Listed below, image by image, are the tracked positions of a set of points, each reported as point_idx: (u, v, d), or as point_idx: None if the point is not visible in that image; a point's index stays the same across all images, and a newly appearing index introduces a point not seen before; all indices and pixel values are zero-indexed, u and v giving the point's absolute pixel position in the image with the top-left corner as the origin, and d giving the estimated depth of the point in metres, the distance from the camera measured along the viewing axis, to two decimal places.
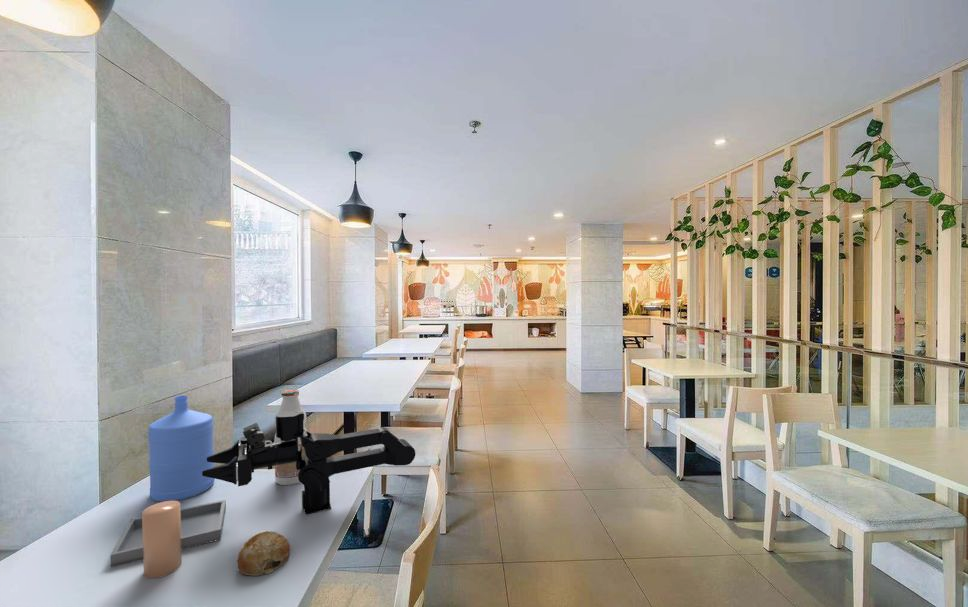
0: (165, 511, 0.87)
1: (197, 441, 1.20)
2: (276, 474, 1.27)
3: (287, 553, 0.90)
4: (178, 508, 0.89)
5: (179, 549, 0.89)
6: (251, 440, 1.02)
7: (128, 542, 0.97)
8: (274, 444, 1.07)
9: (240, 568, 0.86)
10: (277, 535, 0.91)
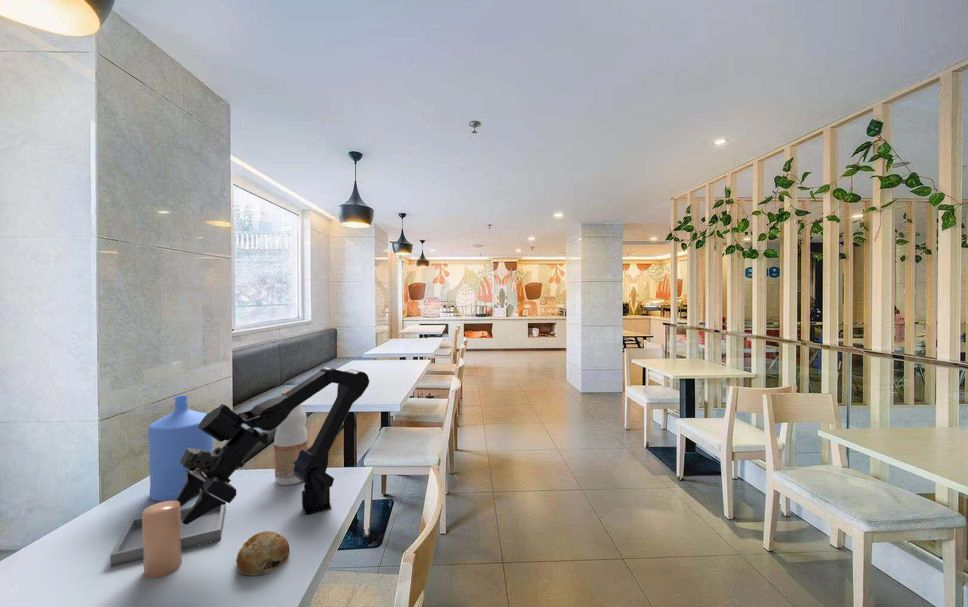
0: (165, 511, 0.87)
1: (197, 441, 1.20)
2: (276, 474, 1.27)
3: (286, 553, 0.90)
4: (178, 508, 0.89)
5: (179, 549, 0.89)
6: (199, 465, 0.89)
7: (128, 542, 0.97)
8: (225, 447, 0.96)
9: (239, 568, 0.86)
10: (276, 535, 0.91)
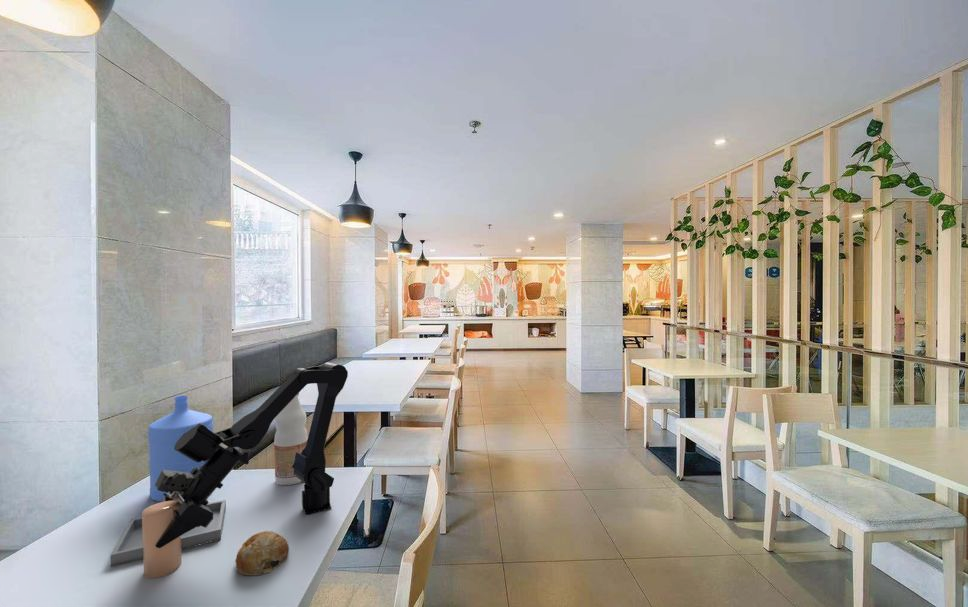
0: (165, 510, 0.87)
1: None
2: (276, 474, 1.27)
3: (286, 553, 0.90)
4: (178, 508, 0.89)
5: (179, 549, 0.89)
6: (174, 488, 0.86)
7: (128, 542, 0.97)
8: (202, 468, 0.93)
9: (239, 568, 0.86)
10: (276, 535, 0.91)
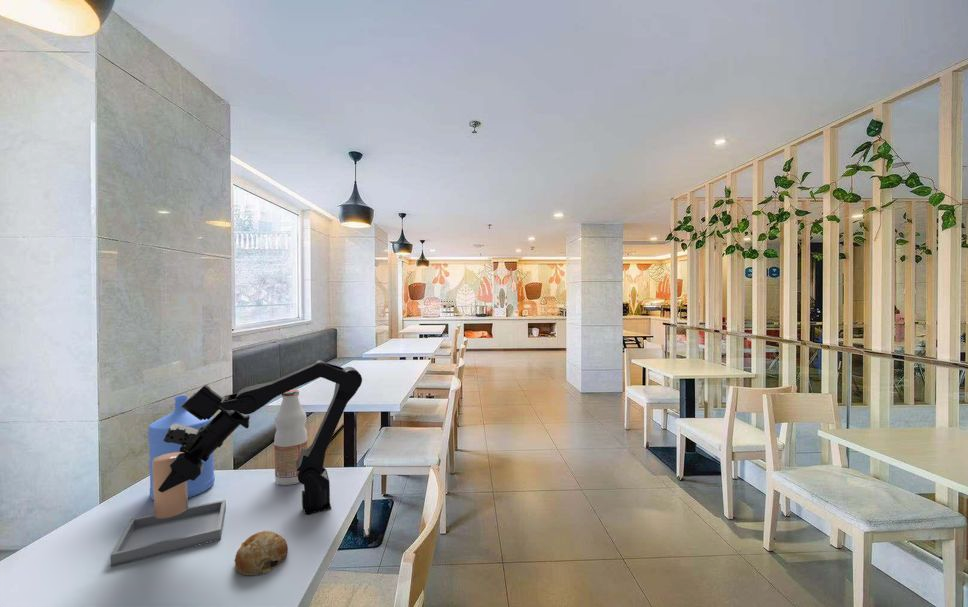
0: (169, 460, 0.96)
1: None
2: (276, 474, 1.27)
3: (285, 553, 0.90)
4: None
5: (182, 497, 0.98)
6: (173, 441, 0.95)
7: (128, 542, 0.97)
8: (205, 426, 1.01)
9: (238, 568, 0.86)
10: (275, 535, 0.91)
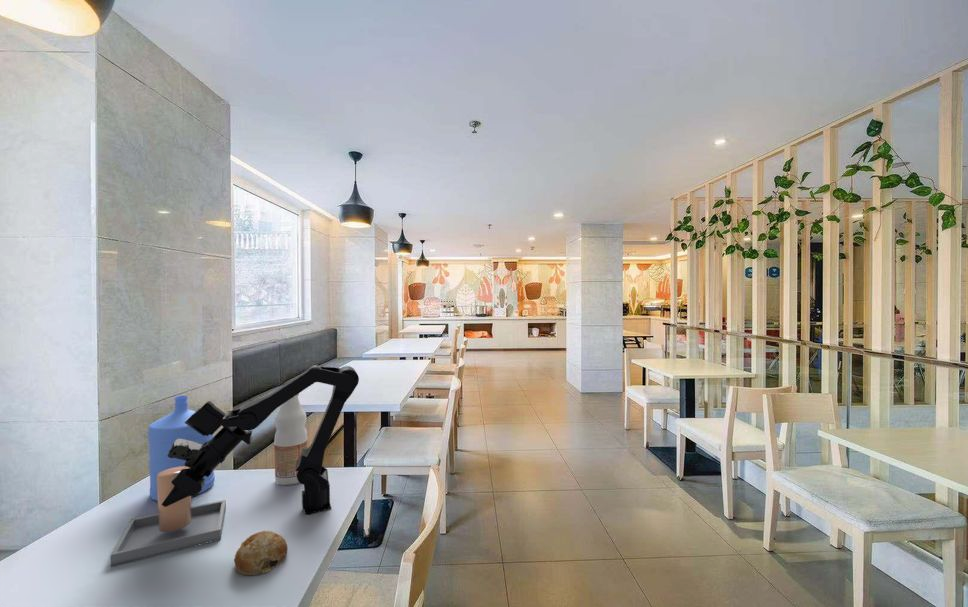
0: (172, 475, 0.98)
1: (197, 441, 1.20)
2: (276, 474, 1.27)
3: (284, 552, 0.90)
4: None
5: (185, 511, 1.00)
6: (176, 457, 0.97)
7: (128, 542, 0.97)
8: (208, 442, 1.02)
9: (237, 567, 0.86)
10: (274, 534, 0.91)
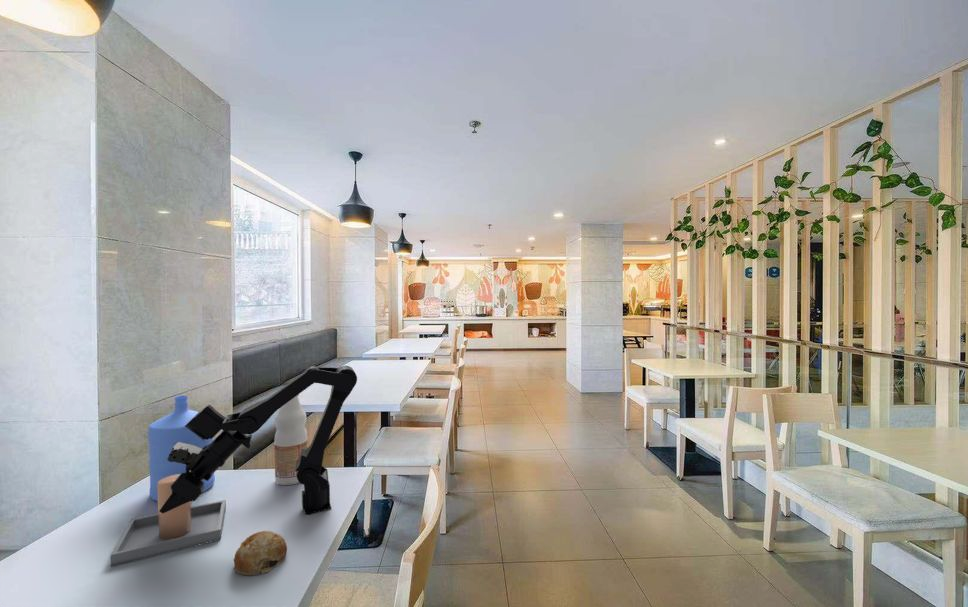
0: None
1: (197, 441, 1.20)
2: (276, 474, 1.27)
3: (284, 553, 0.90)
4: None
5: (186, 519, 1.00)
6: (176, 461, 0.97)
7: (128, 542, 0.97)
8: (208, 446, 1.02)
9: (237, 567, 0.86)
10: (274, 535, 0.91)
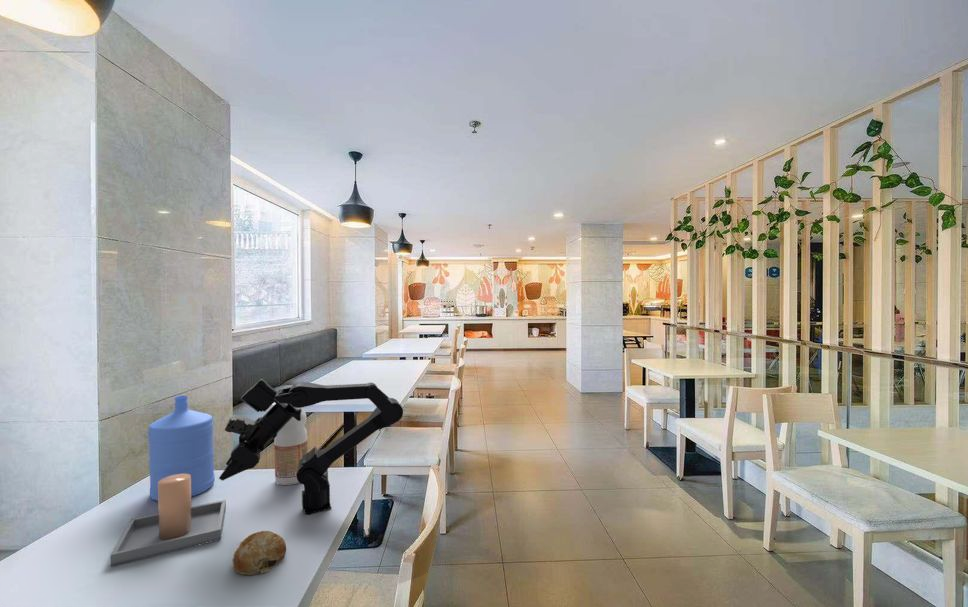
0: (173, 482, 0.99)
1: (197, 441, 1.20)
2: (276, 474, 1.27)
3: (283, 552, 0.90)
4: (185, 482, 1.00)
5: (186, 519, 1.00)
6: (234, 430, 1.01)
7: (128, 542, 0.97)
8: (262, 418, 1.07)
9: (236, 567, 0.86)
10: (273, 534, 0.91)
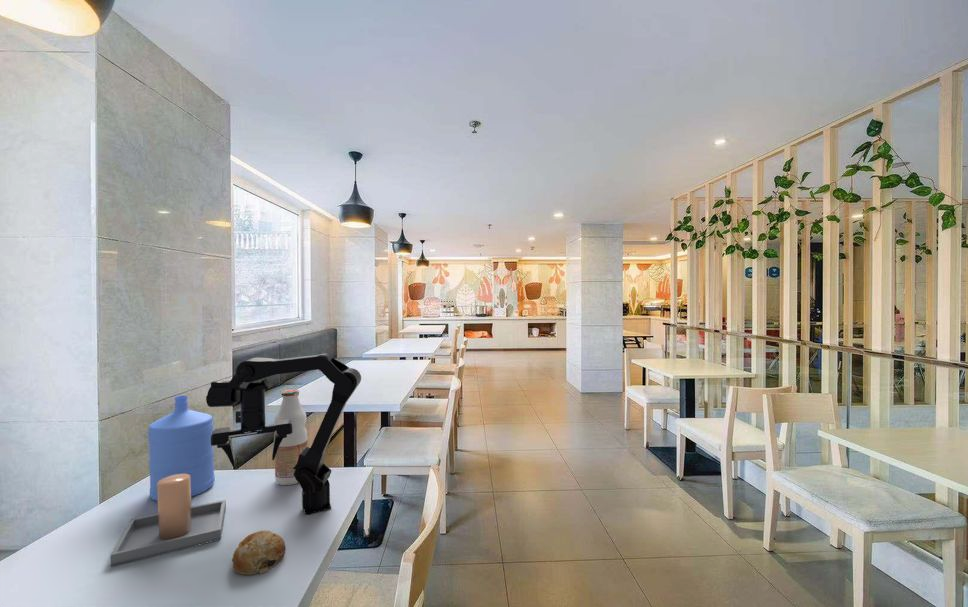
0: (173, 483, 0.98)
1: (197, 441, 1.20)
2: (276, 474, 1.27)
3: (282, 552, 0.90)
4: (185, 482, 1.00)
5: (186, 519, 1.00)
6: (236, 422, 1.14)
7: (128, 542, 0.97)
8: None
9: (235, 567, 0.86)
10: (272, 534, 0.91)
